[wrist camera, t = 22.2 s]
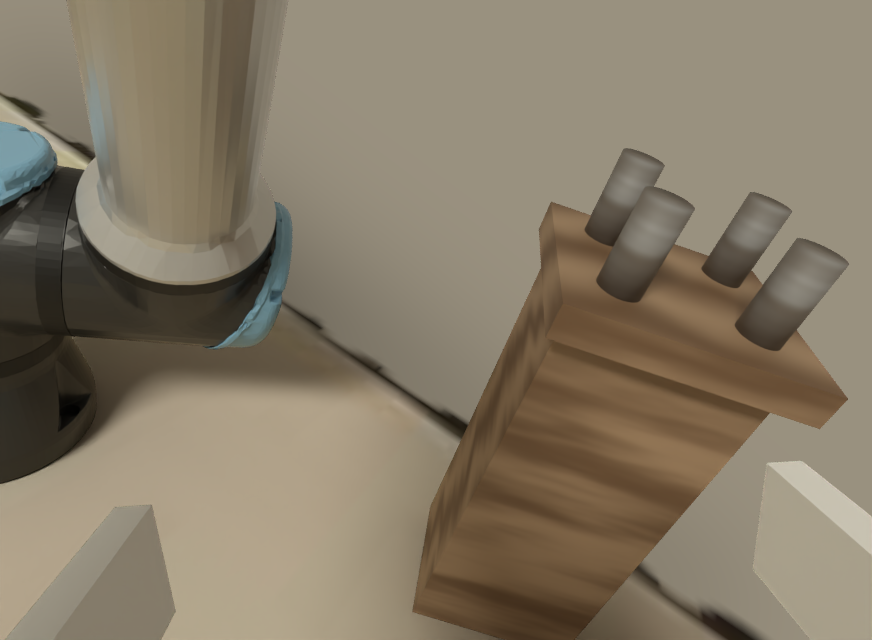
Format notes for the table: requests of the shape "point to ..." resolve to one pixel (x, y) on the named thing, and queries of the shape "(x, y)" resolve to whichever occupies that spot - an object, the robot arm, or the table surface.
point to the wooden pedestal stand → (618, 404)
